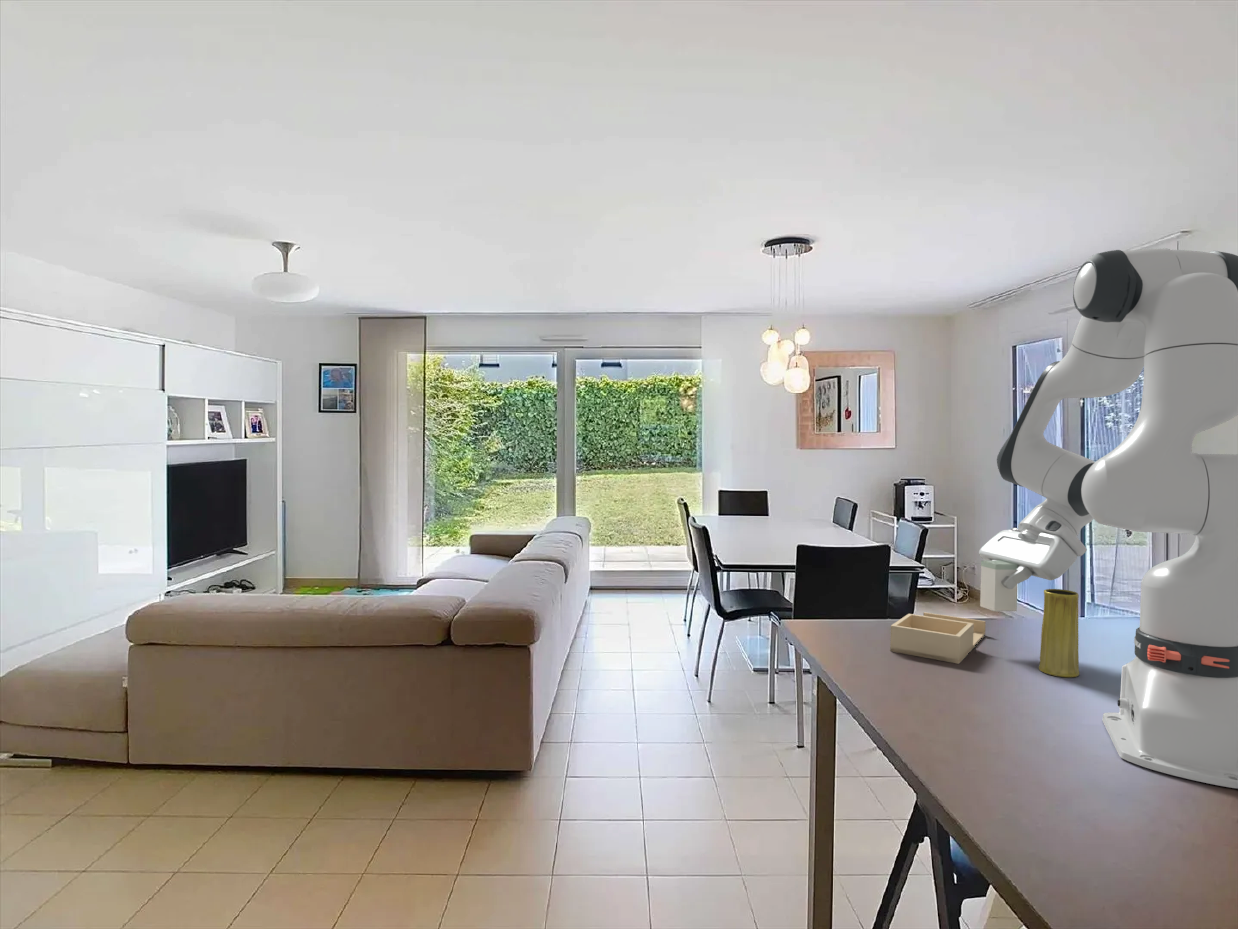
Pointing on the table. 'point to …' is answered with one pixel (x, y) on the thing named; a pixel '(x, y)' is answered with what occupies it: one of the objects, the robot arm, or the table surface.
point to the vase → (1060, 634)
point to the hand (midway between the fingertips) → (995, 583)
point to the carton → (997, 586)
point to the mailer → (936, 636)
